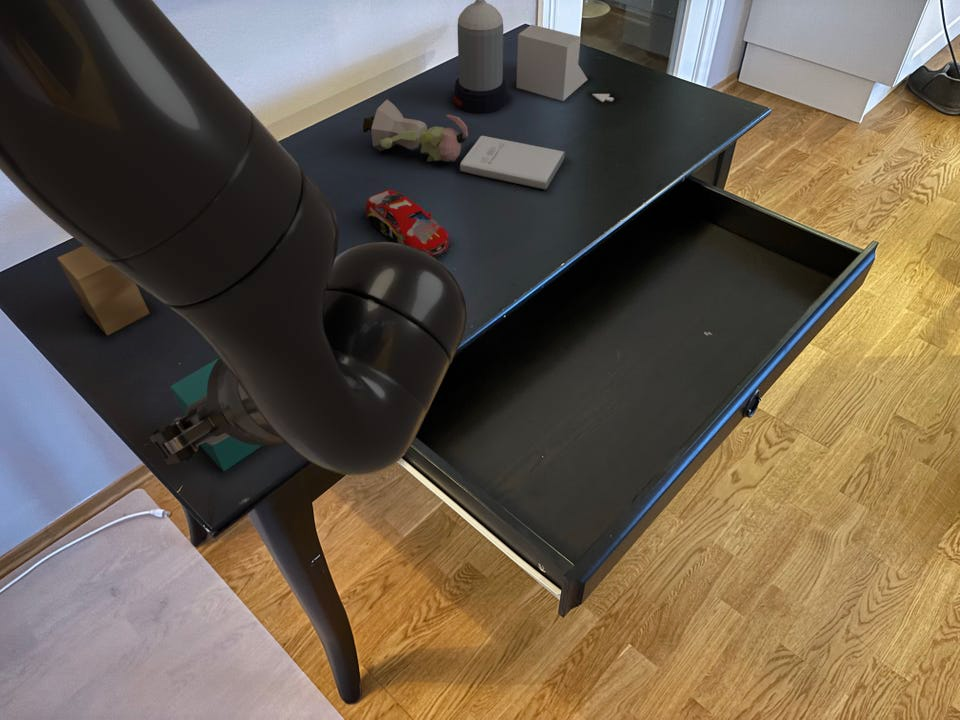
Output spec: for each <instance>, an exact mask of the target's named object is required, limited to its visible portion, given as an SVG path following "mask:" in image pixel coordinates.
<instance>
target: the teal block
mask: <svg viewBox="0 0 960 720" xmlns="http://www.w3.org/2000/svg"><path fill="white" fill-rule="evenodd" d="M218 359H219V357H218V358H216V359H214V360H212V361H211V362H208V363H207V364H205V365H204V366H202V367H201V368H199V369H197V370H195V371H194V372H192V373H190V374H189V375H187V376H185V377H183V378H182V379H180V380H178V381H177V382H175V383H173V384H171V385H170V386H169V387H170V390H171V392H172V394H173V396H174V398H175V400H176V402H177V404H178V406H179V408H180V411H181V413H182V416H184V415H186V414H187V411H186V409H187V407H188V406H189V405H191V404H193V403H194V402H196V401H197V400H199V399H201V398H202V397H204V396H206V395H207V385H208V379H209V376H210V373H211V370H212V368H213V366H214V365H215V363H216V362H217V360H218ZM207 405H208V404H207ZM190 421H191V420H190ZM191 422H192V424H193V425H194V424H195V423H194V422H193V421H191ZM199 447H201V448H202V449H203V451H204V452H205V453H206V454H207V455H208V456H209V457H210V458H211V460H212V461H214V463H215V464H216V465H217V467H219V469H221V471H223V472H226V471H227V470H229V469H230V468H232V467H233V466H235V465H236V464H238V463H239V462H241V461H242V460H243V459H245V458H247V457H248V456H249V455H251V454H252V453H254V452H256V451H257V450H259V449H260V448H261V447H262V446H260V445H251V444H247V443H244V442H241V441H239V440H237V439H235V438H233V437H231V436H229V437H228V438H226V439H224V440H222V441H220V442H218V443H216V444H214V445H210V444H208V443H207V442H204V443H202V444H200V446H199Z"/></svg>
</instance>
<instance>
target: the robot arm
mask: <svg viewBox="0 0 960 720" xmlns="http://www.w3.org/2000/svg"><path fill="white" fill-rule="evenodd" d="M0 171H1V172H2V173H3V174H4V175H5V176H6V178H7V179H9V180H10V182H11V183H12V184H13V185H14V186H15V187H16V188H17V189H18V190H19V191H20V192H21V193H22V194H23V195H24V196H25V197H26V198H27V199H28V200H29V201H30V202H31V203H33V205H35V207H37V208H38V209H39V210H40V211H41V212H42V213H43V214H44V215H45V216H47V218H49V219H50V220H51V221H53V222H54V224H56V225H58V226H59V227H60V228H61V229H62V230H63V231H65V232H66V233H67V234H69V235H70V237H72V238H73V239H75V240H76V241H77V242H79V243H80V244H82V246H85V247H87V248H88V249H89V250H91V251H92V252H93V253H95V254H96V255H97V256H99V257H100V258H101V259H103V260H104V261H106V262H107V263H108V264H110V265H111V266H112V267H114V268H115V269H117V270H118V271H119V272H121V273H122V274H123V275H125V276H126V277H128V278H129V279H130V280H132V281H133V282H134V283H136V285H137V287H140V288H141V289H142V290H143V291H145V292H147V293H148V294H149V295H151V296H152V297H153V298H155V299H157V300H158V301H159V302H161V303H163V305H164V306H166V307H167V308H169V309H170V310H171V311H173V312H174V314H177V315H178V316H179V317H180V318H182V319H183V320H184V321H185V322H186V323H187V324H188V325H189V326H191V327H192V329H194V331H196V333H197V334H198V335H199V336H200V337H201V338H202V340H204V342H205V343H206V344H207V345H208V347H210V349H211V350H212V351H213V352H214V353H215V355H216V356H217V357H218V358H219V359H218V358H217V359H218V360H217V362H216V363H215V365H214V366H213V368H212V370H211V373H210V376H209V379H208V385H207V395H206V396H204V397H202V398H201V399H199V400H197V401H196V402H194V403H193V404H191V405H189V406H188V407H187V409H186V411H187V414H186V415H182V416H177V417H175V418H173V422H171V423H170V424H168V425H167V426H165V427H163V428H161V429H156V430H154V431H153V432H152V435H150V436H149V439H150V441H151V442H152V443H153V444H154V445H155V447H156V448H157V450H158V451H159V453H160V454H161V455H162V457H163V458H164V459H163V460H164V461H165V462H166V464H167V465H173V464H179V463H182V462H184V461H185V462H188V461H189V460H191V459H193V456H194V455H195V454H196V453H197V451H198V450H199V448H200V447H201V446H200V444H202V443H204V442H207V443H208V444H210V445H214V444H216V443H218V442H220V441H222V440H224V439H226V438H228V437H229V436H231V437H233V438H235V439H237V440H239V441H241V442H244V443H247V444H251V445H260V446H261V447H264V446H280V445H287V446H288V447H290V448H291V449H292V450H293V451H294V452H295V453H296V454H298V455H299V456H300V457H302V458H304V459H305V460H307V461H308V462H310V463H311V464H314V465H315V466H317V467H319V468H322V469H324V470H327V471H330V472H333V473H336V474H340V475H346V476H365V475H373V474H376V473H379V472H382V471H384V470H387V469H389V468H390V467H392V466H394V465H395V464H396V463H398V462H399V461H400V460H401V459H402V458H403V457H404V456H405V454H406V453H407V452H408V451H409V449H410V447H411V446H412V445H413V442H414V440H416V438H417V435H418V433H419V431H420V429H421V427H422V425H423V423H424V420H425V418H426V416H427V415H428V412H429V410H430V408H431V406H432V404H433V402H434V399H435V398H436V395H437V393H438V391H439V389H440V386H441V384H442V383H443V381H444V379H445V377H446V374H447V372H448V369H449V367H450V365H451V364H452V362H453V360H454V358H455V356H456V354H457V351H458V350H459V348H460V346H461V343H462V341H463V338H464V334H465V331H466V326H467V319H468V318H467V316H468V314H467V305H466V300H465V296H464V294H463V291H462V288H461V286H460V284H459V282H458V281H457V279H456V278H455V277H454V275H453V273H452V272H451V271H449V270H448V268H447V267H446V266H445V265H444V264H443V263H442V262H440V261H439V260H438V259H437V258H434V257H432V256H431V255H429V254H428V253H426V252H424V251H422V250H420V249H417V248H415V247H412V246H409V245H405V244H401V243H394V242H393V241H370V242H365V243H364V242H363V243H361V244H357V245H353V246H351V247H348V248H346V249H344V250H343V251H341V252H339V253H338V248H339V237H340V229H339V221H338V216H337V214H336V211H335V209H334V207H333V206H332V203H331V201H330V200H329V199H328V198H327V195H326V194H325V193H324V192H323V190H322V189H321V188H320V186H318V184H317V183H316V182H315V181H314V180H313V178H312V177H311V176H310V175H309V173H308V172H307V171H306V170H305V169H304V168H303V167H302V165H300V164H299V163H298V162H297V161H296V160H295V159H294V157H293V156H292V155H291V154H290V153H289V151H288V150H287V149H285V148H284V146H283V145H282V144H281V143H280V142H279V141H278V139H276V137H275V136H274V135H273V134H272V133H271V132H270V131H269V130H268V128H266V127H265V125H264V124H263V123H262V122H261V121H260V120H259V119H258V117H257V116H256V115H255V114H254V113H253V112H252V111H251V110H250V109H249V107H248V106H247V105H246V104H245V103H244V102H243V100H241V98H240V97H239V96H238V94H236V93H235V92H234V91H233V89H231V88H230V86H229V85H228V84H227V83H226V82H225V81H224V80H223V79H222V78H221V76H219V74H218V73H217V72H216V71H215V70H214V69H213V68H212V66H211V65H210V64H208V62H207V61H206V60H205V58H204V57H203V56H201V54H200V53H199V52H198V50H197V49H196V48H194V47H193V45H192V44H191V43H190V42H189V41H188V40H187V39H186V37H185V36H184V35H183V34H182V33H181V32H180V31H179V29H178V28H177V27H176V26H175V25H174V23H173V22H172V21H171V20H170V19H169V18H168V16H167V15H166V14H165V13H164V12H163V11H162V10H161V8H160V7H159V6H158V4H157V3H156V2H155V1H154V0H0ZM207 404H208V405H207ZM190 420H191V421H193V422H194V423H195V424H194V425H193V424H192V422H191V421H190Z"/></svg>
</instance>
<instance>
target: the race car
mask: <svg viewBox="0 0 960 720" xmlns="http://www.w3.org/2000/svg"><path fill="white" fill-rule="evenodd" d="M365 212H366V217H367V220H368V222H369V223H371V225H372V227H373V229H375V230H376V231H379V232H381V234H383V235H384V236H385V237H387V239H389V240H390V241H391V242H394V243H401V244H405V245H409V246H412V247H415V248H417V249H420V250H422V251H424V252H426V253H428V254H429V255H431V256H432V257H434V258H435V259H437V258H439V257H441V256H442V255H443V254H445V253H446V252H447V251H448V249H449V246H450V236H449V233H448V232H447V230H446V229H445V228H443V227H442V226H441V225H440V224H438V222H437V221H436V220H434V219H433V218H432V217H431V216H432V215H433V212H432V211H430V212H428V213H427V211H426V210H425V209H423V208H422V207H421V206H419V205H418V204H417V203H415V202H414V201H412V200H411V199H410V198H409V197H407V196H406V195H403V194H402V193H399V192H398V191H396V190H390V189H385V190H382V191H381V192H378V193H376V194H373V195H371V196H370V197H369V198H368V199H367V201H366V204H365Z"/></svg>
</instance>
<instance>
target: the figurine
mask: <svg viewBox="0 0 960 720" xmlns="http://www.w3.org/2000/svg"><path fill="white" fill-rule="evenodd" d="M445 117H446V118H448V119H449V120H450V121H451V122H453V123H455V125H457V127H458V128H459V129H460V130H461V133H459V131H456V130H455V129H454V128H451V127H449V126H447V127H444V126H438V125H437V126H436V125H435V126H432V127H429V128H428V126H427V124H426V123H425V122H424V121H422V120H418V119H412V118H405V117H404V116H403V114H402V112H400V110H399V109H398V108H397V106H396V105H395V104H394V103H393V102H391V101H390V100H389V99H386V100H385V101H383V103H382V104H381V105H379V106H378V108H376V111H375V115H373V116H370V117H369V116H368V117H364V118H363V124H362V133H368V132H371V141H372V146H373V148H374V149H377V150H378V151H379V152H382V151H385V150H389V149H391V148H392V147H394V146H396V145H399V146H402V147H404V148H405V149H408V150H410V151H412V152H413V151H416V150H418V149H420V154H422V155H428V156H427V158H426V163H427V162H434V163H438V162H441V161H442V162H448V163H452V162H455V161H457V158H458V157H459V156H460V154H461V150H462V143H465V142H466V141H467V137H469V134H468V133H469V132H468V126H467V125H466V124H465V122H464V121H463V120H462V119H461V118H460V117H459V116H455V115H452V114H445Z"/></svg>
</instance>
